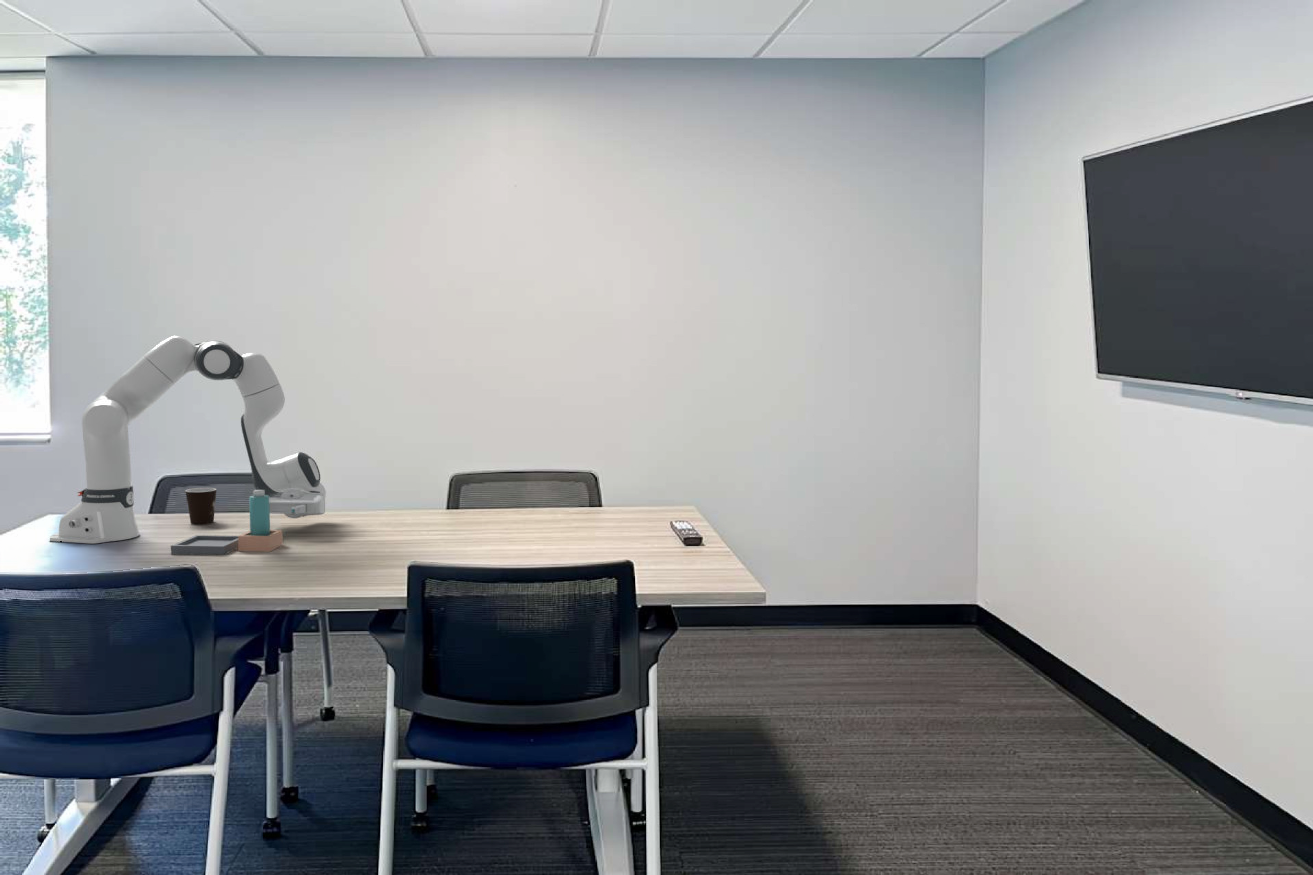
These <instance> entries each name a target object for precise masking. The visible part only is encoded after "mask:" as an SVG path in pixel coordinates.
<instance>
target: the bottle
mask: <svg viewBox="0 0 1313 875" xmlns="http://www.w3.org/2000/svg"><path fill="white" fill-rule="evenodd" d="M269 498H270V497H269V496H268V495H265V490H256V489H253V494H252V495H249V496H248V502H249V503H248V504H249V505H248V506H249V531H250V536H268V535H270V530H271V516H270V509H269Z"/></svg>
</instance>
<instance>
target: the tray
mask: <svg viewBox="0 0 1313 875" xmlns="http://www.w3.org/2000/svg"><path fill="white" fill-rule="evenodd" d="M238 536H239V535H216V534H215V535H209V534H206V535H205V534H202V535H200V534H196V535H193V536H191V537H188V538H186V539H184V540H181V541H179V542H176V543H174V544H172V545H170V554H171V555H207V554H210V555H212V554H224V555H226V553H227V554H228V552H229V553H230V552H232V550H233V551H235V550H237V549H238ZM236 548H237V549H236Z"/></svg>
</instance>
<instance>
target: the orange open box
mask: <svg viewBox="0 0 1313 875" xmlns="http://www.w3.org/2000/svg"><path fill="white" fill-rule="evenodd" d="M237 536H238V548H237V549H238V550H237V551H238V552H272V551H274V550H276V549H278V548H279V547H281V546H283V530H280V529H279V530H275V529H273V530H271V529H270V535H268V536H250V530H249V531H246V532H244V533H242V534H240V535H237ZM275 548H276V549H275Z"/></svg>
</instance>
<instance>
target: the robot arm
mask: <svg viewBox="0 0 1313 875" xmlns="http://www.w3.org/2000/svg"><path fill="white" fill-rule="evenodd" d="M193 371H194V372H195V371H196V372H199V374H201V375H202V376H203V377H205V378H207V379H209V380H212V381H223V380H232V381H234V382H235V384H236V386H237V387H238V390H239V392H240V395H241V396H242V399H243V402H244V403H243V404H244V412H243V414H242V415H241V417H240V425H241V426H240V427H241V432H242V436H243V440H244V446H245V448H246V452H247V456H248V461H249V465H250V469H251V478H252V484H253V486H254V488H255V489H254V490H265V495H268V496H269V509H270V514H274V515H275V514H276V515H277V514H278V515H284V516H286V517H287V518H291V519H298V518H302V517H308V516H319V515H324V514H325V512H326V497H327V492H326V489H325V486H324V485H323V484H322V483H321V474H320V470H319V467H318V464H317V462H316V461H315V460H314V458H312V457H311V456H309V454H307V453H305V452H301V451H299V452H297V453H294V454H291V455H287V456H284V457H283V458H279V459H275V460H273V461H269V460H268V459H267V454H266V451H265V447H264V443H263V439H262V432H263V430H264V428H265V426H267V425H268V424H269V423H270V422H272V421H273V419H275V418H276V417H277V416H278V415H279V414H280V413H281V412H282V410H283V408H284V406H285V401H286V397H285V393H284V390H283V388H282V386H281V384H280V381H279V379H278V377H277V375H276V374H275V371H274V370H273V368H272V366H271V364H270V363H269V361H268V360H267V358H266V357H265V356H264V355H263V354H261V353H258V352H248V353H245V354H240V353H238V352H237V351H235V350H234V349H233V348H232V347H231V346H230V345H229V344H228V343H225V342H224V341H221V340H209V341H208V340H207V341H204V342H200V343H199V342H198V343H196V344H193V343H192V342H190V341H189V340H188V339H187V338H185V337H182V336H179V335H173V336H169V337H168V338H166V339H164V340H162V341H161V342H159V343H158V344H157V345H155V346H154V347H152V348H151V349H150V350H149V351H148V352H146V353H145V354H144V355H143V356H142V357H141V358H139V359H138V360H137V361H136V362H134V364H133V365H132V366H131V367H130V368H129V369H127V370H126V371H125V372H124V373H123V374H122V375H120V377H119V378H117V380H115V381H114V382H113V383H112V384H111V385H110V386H109V387H108V388H106V389H105V390H104V391H103V392H102V393H100V394H99V395H98V396H97V398H95V399H94V400H93V401H92V402H90V404H89V405H88V406H86V408H85V409H84V411H83V412H82V416H81V427H82V439H83V449H84V450H83V451H84V458H85V475H86V488H84V489H82V490H81V491H77V494H78V495H77V497H81V500H80V502H79V503H78V504H76V505H75V506H74V507H73V508H70V510H69V511H67V512H66V513H65V514H64V515H62V516H61V518H60V519H59V524H58V532H56V533H54V534H52V535H50V537H49V541H50V542H60V541H62V543H78V544H79V543H80V544H100V543H107V542H116V541H124V540H128V539H129V540H130V539H133V538H134V539H135V538H136V537H138V536H140V534H141V533H140V531H139V528H138V525H137V520H136V517H135V511H134V504H135V503H134V502H135V499H134V497H135V496H134V494H135V493H134V487H133V485H132V474H131V473H132V470H131V454H130V443H129V441H130V440H129V430H128V429H129V425H131V424H132V423H133V422H134V421H135V420H136V419H137V418H138V417H139V416H141V415H142V414H143V413H144V412H145V411H146V410H148V409H149V408H150V407H151V406H152V405H153V404H155V402H157V401H158V400H159V399H160V398H161V397H162V396H163V395H164V394H165V393H166V392H168V391H169V390H170V389H171V388H172V387H173V386H174V385H175V384H176V383H177V382H178V381H180V380H181V379H182V377H184V376H185V375H187V374H188V373H190V372H193ZM278 495H280V496H279V497H276V496H278Z"/></svg>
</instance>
